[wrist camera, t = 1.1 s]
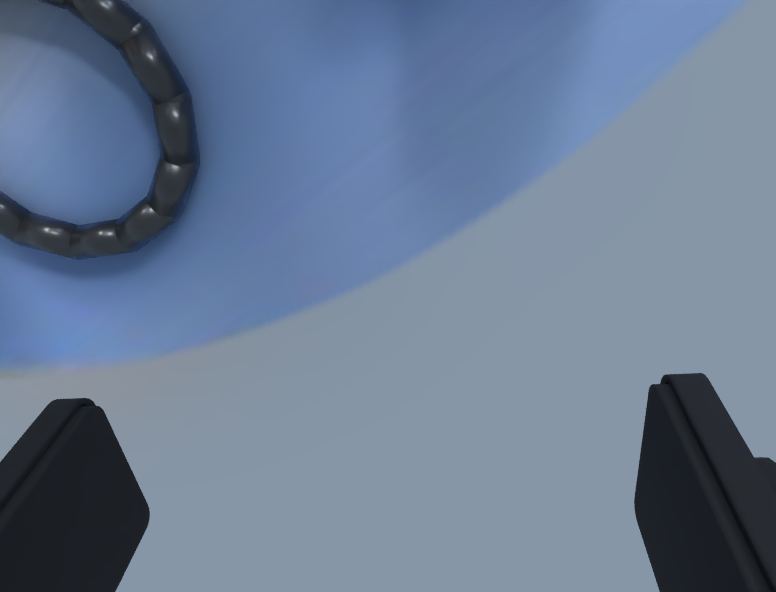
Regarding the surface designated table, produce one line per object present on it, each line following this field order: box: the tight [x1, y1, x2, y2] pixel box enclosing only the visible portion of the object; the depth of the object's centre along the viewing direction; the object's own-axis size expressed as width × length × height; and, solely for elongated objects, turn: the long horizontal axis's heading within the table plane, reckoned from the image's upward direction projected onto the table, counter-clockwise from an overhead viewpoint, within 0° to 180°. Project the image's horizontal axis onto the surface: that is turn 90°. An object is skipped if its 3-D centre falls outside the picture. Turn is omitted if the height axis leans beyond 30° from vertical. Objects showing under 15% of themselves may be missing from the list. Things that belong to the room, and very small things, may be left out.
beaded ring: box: [0, 0, 200, 260], centre depth 32 cm, size 16×16×2 cm
